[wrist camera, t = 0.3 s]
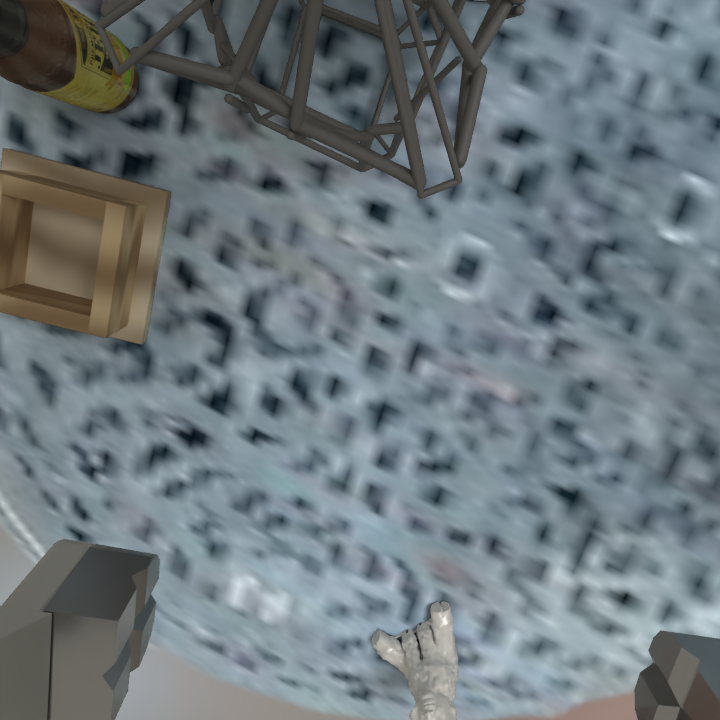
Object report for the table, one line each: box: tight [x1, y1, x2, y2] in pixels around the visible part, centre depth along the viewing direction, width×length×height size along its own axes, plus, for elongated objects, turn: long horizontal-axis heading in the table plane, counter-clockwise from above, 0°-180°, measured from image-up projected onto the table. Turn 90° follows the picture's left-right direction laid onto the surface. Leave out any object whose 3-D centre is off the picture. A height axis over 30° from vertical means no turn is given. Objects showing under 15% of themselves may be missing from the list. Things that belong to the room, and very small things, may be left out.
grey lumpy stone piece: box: [371, 601, 459, 720], centre depth 60 cm, size 10×9×12 cm
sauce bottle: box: [0, 0, 139, 113], centre depth 41 cm, size 6×6×20 cm
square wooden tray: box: [0, 148, 171, 345], centre depth 51 cm, size 14×14×6 cm
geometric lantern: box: [95, 0, 526, 199], centre depth 34 cm, size 16×16×35 cm
